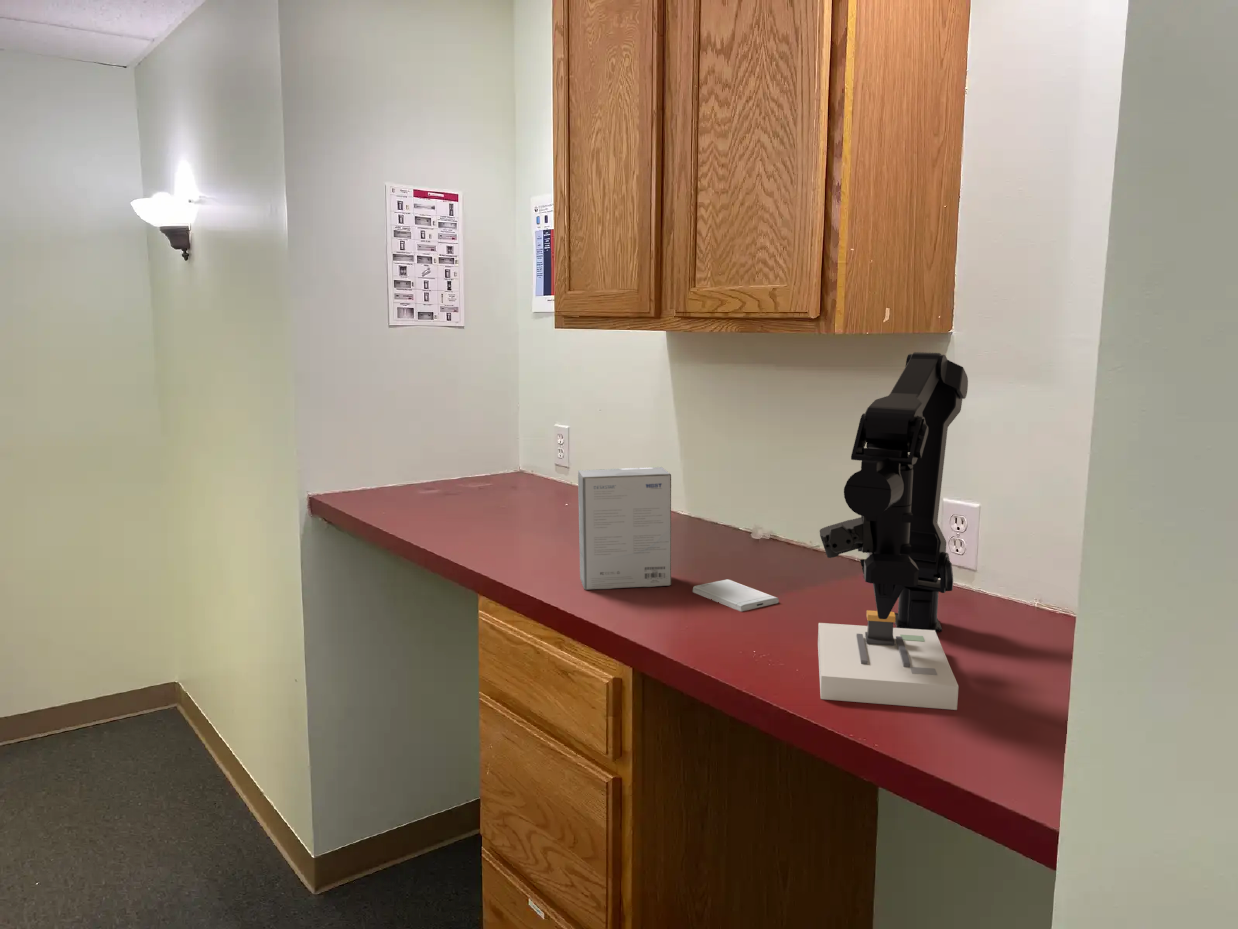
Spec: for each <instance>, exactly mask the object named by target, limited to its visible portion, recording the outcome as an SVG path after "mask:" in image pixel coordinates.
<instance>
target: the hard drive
mask: <svg viewBox="0 0 1238 929" xmlns="http://www.w3.org/2000/svg"><path fill="white" fill-rule="evenodd" d="M692 593H694V594H696V595H699V596H701V597H704V598H705V599H706V598H707V599H708V600H711V599H712V600H711V601H713V602H716V603H718V602H719V604H721V605H724V606H727V607H728V608H730V609H733V610H735V611H738V612H746V611H749V610H754V609H758V608H762V607H767V606H771V605H774V604H779V597H776V596H773V595H771V594H768V593H766V592H763V591H761V590H758V589H755V588H753V587H750V586H746V585H744V584H741V583H739V582H736V581H734V580H732V579H722V580H716V581H713V582H712V581H711V582H708V583H702V584H698V585H694V586H693V588H692Z"/></svg>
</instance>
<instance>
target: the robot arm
mask: <svg viewBox="0 0 1238 929" xmlns="http://www.w3.org/2000/svg"><path fill="white" fill-rule="evenodd" d="M968 387H969V378H968V374H967V372H966V370H965V368H964V367H963V366H962V365H959V364H958V363H956V362H953V361H951V360H949V359H948V358H947V357H946V354H942V353H941V352H921V351H920V352H919V351H918V352H916V351H914V352H913V353H909V354H908V355H907V356H906V360H905V366H904V369H903V371H902V372H901V374H900V376H899V377H898V379H897V381H896V383H895V384H894V386H893V387H892V390H891V391H890V393H889V394H888V395H886V396H884V397H883V396H882V397H879V398H877V399H874V401H873V402H872V403H871V404H870V405H869V406H868V407H867V408H866V410H865V413H862V415H861V416H860V418H859V419H860V420H859V423H858V428H857V431H856V436H855V439H854V443H853V447H852V451H851V456H850V459H851V460H852V461H860V462H861V464H860V465H861V466H860V470H858V471H856V472H854V473H853V474H852V475H851V476H850V477H849V478H848V479H847V481H846V482H845V485H844V487H843V497H844V500H845V502H846V505H847V506H848V508H849V509H850V510H851V511H852V512H854V513H855V514H857V515H858V516H860V517H856V518H853V519H848V520H845V521H841V522H838V523H835V524H830V525H828V526H824V527H822V528H820V529H819V536H820V539H821V542H822V545H823V548H824V551H825V554H826V557H827V558H828V559H829V558H830V559H833V558H837V557H839V555H841V554H844V553H848V552H853V551H855V550H857V552H861V553H864V554H866V558H864V559H863V558H861V559H859V560H860V561H859V562H860V565H861V570H862V573H863V577H864V581H865V583H868V584H872V586H873V594H874V600H875V606H876V611H877V614H878V618H879V619H887V618H888V616H889V614H890V612H892V610H893V608H894V607H895V604H896V603H898V604H897V607H898V608H897V612H894V613H895V622H894V624H895V628H906V629H921V630H935V632H936V633H940V632H942V631H943V628H942V625H941V623H940V620H939V619H938V606H939V593H941V594H945V593H946V592H952V591H953V590H954V588H953V587H954V572H953V565H952V561H950V559H951V558H950V554H949V552H946V551H947V540H946V538H945V536H944V534H943V532H942V530H941V528H940V525H939V524H938V519H939V512H940V510H939V509H940V501H941V492H942V484H943V483H942V482H943V476H944V474H943V473H944V465H945V457H946V447H947V446H946V445H947V437H948V436H947V435H948V429H949V426H950V425H951V424H952V423H953V421H954V420H956V418H957V416H958V415H959V414H960V413H961V412H962V406H963V400H966V398H967V394H968ZM897 601H898V602H897Z"/></svg>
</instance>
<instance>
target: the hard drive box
mask: <svg viewBox="0 0 1238 929" xmlns="http://www.w3.org/2000/svg"><path fill="white" fill-rule="evenodd" d="M577 484H578V485H577V486H578V488H577V489H578V497H577V498H578V528H579V529H578V533H579V534H578V535H579V536H578V538H579V542H578V544H579V578H580V583H581V585H582V587H583V589H584V590H586V591H587V590H611V589H623V588H651V587H665V586H666V587H668V586H671V585H672V474H671V473H670V472H669V471H667V470H666V469H665V468H664V467H662V466H657V467H654V466H653V467H652V466H650V467H649V466H648V467H626V468H625V467H622V468H607V469H585V470H583V469H582V470H581V469H580V470H577Z"/></svg>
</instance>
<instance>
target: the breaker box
mask: <svg viewBox="0 0 1238 929" xmlns="http://www.w3.org/2000/svg"><path fill="white" fill-rule="evenodd" d="M817 628H818V632H817V650H818V651H817V654H818V657H817V658H818V671H819V672H818V674H819V675H818V676H819V692H820V693H819V695H820V700H826V701H827V700H828V701H842V702H854V703H855V702H856V703H865V704H866V703H868V704H876V705H877V704H878V705H890V706H891V705H893V706H903V707H904V706H905V707H914V708H916V707H917V708H925V709H926V708H929V709H940V710H941V709H942V710H952V711H953V710H954V711H957V710H958V701H959V700H958V698H959V684H958V682H957V680H956V677H955V674H954V673H953V670H952V668H951V666H950V662H949V661H948V658H947V656H946V654H945V651H944V648H943V645H942V644H941V641H940V639H939V637H938V634H937V632H935V630H921V629H906V628H896V627H893V638H894V641H895V645H882V644H868V643H867V642H866V637H865V632H867V628H868V625H858V624H857V625H856V624H843V623H841V624H840V623H828V622H818V627H817Z"/></svg>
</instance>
